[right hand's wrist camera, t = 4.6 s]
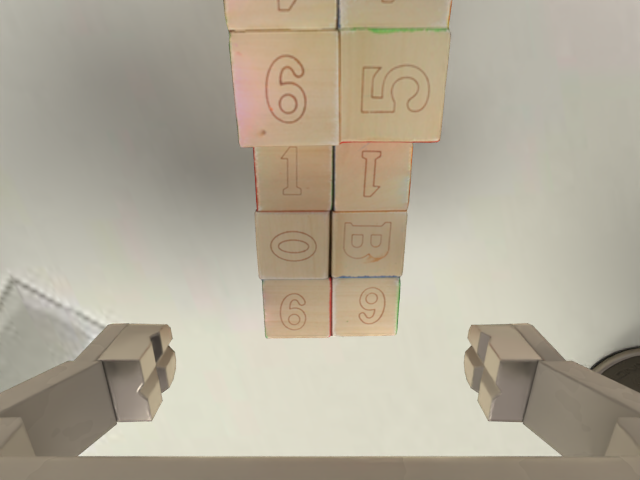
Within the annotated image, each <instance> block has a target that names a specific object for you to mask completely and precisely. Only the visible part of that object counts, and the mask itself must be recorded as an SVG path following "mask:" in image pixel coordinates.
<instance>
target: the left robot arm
mask: <svg viewBox="0 0 640 480" xmlns="http://www.w3.org/2000/svg"><path fill="white" fill-rule="evenodd" d="M592 371H595V372H597V373H599V374H601V375H603V376H605V377H607V378H609V379H611V380H613V381H616V382H618V383H620V384H622V385H624V386H626V387H628V388H630V389H632V390H635V391H637V392H639V393H640V348H637V349H631V350H627V351H623V352H620V353H618V354H615V355H613V356H611V357H609V358H608V359H606V360H604V361H603V362H601V363H600V364H599V365H597V366H596V367H595V368H594V369H593V370H592Z"/></svg>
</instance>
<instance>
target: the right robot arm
mask: <svg viewBox="0 0 640 480" xmlns="http://www.w3.org/2000/svg"><path fill="white" fill-rule="evenodd" d="M171 340H172V333H171V328H170V327H169V326H168V325H167V324H129V323H121V324H110V325H107V327H106V328H105V329H104V330H103V331H102V332H101V333H100V334H99V335H98V336H97V337H96V338H95V339H94V340H93V341H92V342H91V343H90V344H89V345H88V347H87V348H86V349H85V350H84V351H83V352H82V353H81V354H80V355H79V356H78V357H77V358H76V359H75V360H74V361H66V362H64V363H62V364H60V365H58V366H56V367H54V368H52V369H50V370H48V371H45V372H43V373H41V374H39V375H37V376H35V377H33V378H31V379H29V380H26V381H24V382H22V383H20V384H18V385H16V386H14V387H12V388H10V389H7V390H5V391H3V392H1V393H0V480H640V393H639V392H637V391H635V390H632V389H630V388H628V387H626V386H624V385H622V384H620V383H618V382H616V381H613V380H611V379H609V378H607V377H605V376H603V375H601V374H599V373H597V372H595V371H592V370H590V369H588V368H586V367H584V366H582V365H580V364H578V363H576V362H574V361H566V360H565V359H564V358H563V357H562V356H561V355H560V354H559V353H558V352H557V351H556V350H555V349H554V348H553V346H552V345H551V344H550V343H549V342H548V341H547V340H546V339H545V338H544V337H543V336H542V335H541V334H540V333H539V332H538V331H537V330H536V329H535V327H534V326H533V325H531V324H528V323H520V324H491V325H471V327H470V329H469V332H468V340H469V342H470V343H471V345H472V346H471V347H470V348H469V349H468V350H467V351H466V352H465V357H464V370H465V375H466V379H467V381H468V383H469V385H470V387H471V388H472V389H473V390H475V391H476V392H478V393H479V394H478V400H477V401H478V403H479V405H480V406H481V408H482V410H483V412H484V414H485V416H486V418H487V420H488V421H502V422H523V424H524V425H525V426H526V427H528V428H529V429H530V430H531V431H533V432H534V433H535V434H536V435H537V436H539V437H540V438H541V439H542V440H544V441H545V442H546V443H547V444H548V445H550V446H551V447H552V448H553V449H555V450H556V451H557V452H558V453H559V454H561V455H562V456H78V455H79V454H81V453H82V452H83V451H84V450H86V449H87V448H88V447H89V446H90V445H92V444H93V443H94V442H95V441H97V440H98V439H99V438H100V437H102V436H103V435H104V434H105V433H106V432H108V431H109V430H110V429H111V428H113V427H114V426H115V425H116V424H117V422H137V421H152V420H153V418H154V416H155V414H156V412H157V410H158V408H159V406H160V405H161V403H162V401H163V400H162V394H161V393H162V392H164V391H165V390H167V389H168V388H169V387H170V385H171V383H172V381H173V379H174V375H175V370H176V356H175V352H174V351H173V350H172V349H171V348H170V347H169V346H168V345H169V343H170V342H171Z"/></svg>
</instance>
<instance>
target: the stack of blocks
mask: <svg viewBox="0 0 640 480" xmlns="http://www.w3.org/2000/svg"><path fill="white" fill-rule="evenodd" d="M223 2H224V12H225V19H226V24H227V27H228V31H229V34H230V37H229V50H230V60H231V70H232V80H233V90H234V101H235V111H236V121H237V130H238V143H239V146H240V148H244V147H253V153H254V170H255V186H256V203H257V209H256V211H255V228H256V246H257V259H258V272H259V278H260V279H261V280H262V291H263V307H264V325H265V337H266V338H328V337H330V336H390V335H396V333H397V325H398V312H399V300H400V276H402V272H403V262H404V250H405V237H406V224H407V208H408V204H409V194H410V183H411V166H412V152H413V143H416V142H422V143H431V142H438V141H440V136H441V127H442V117H443V107H444V97H445V86H446V77H447V68H448V58H449V49H450V39H451V33H450V30H449V20H450V12H451V5H452V0H223Z"/></svg>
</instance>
